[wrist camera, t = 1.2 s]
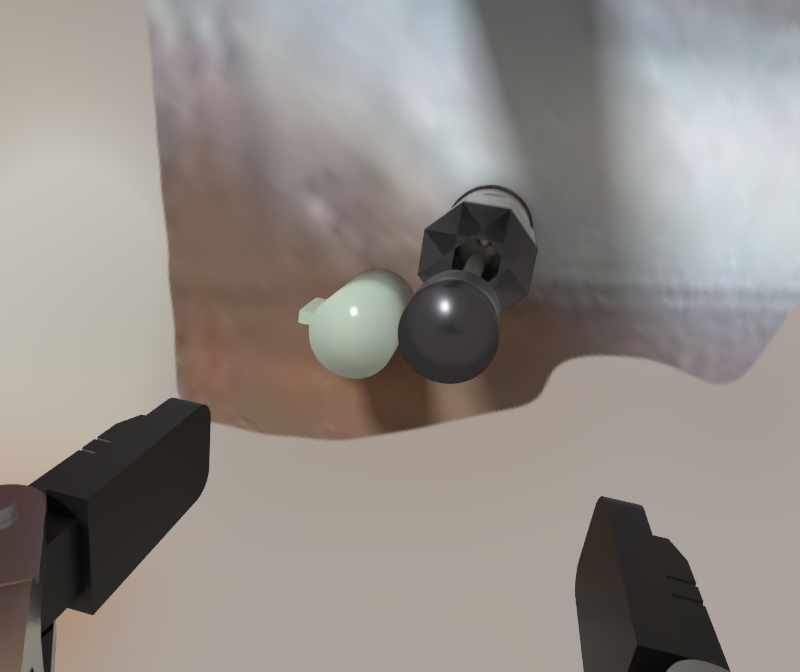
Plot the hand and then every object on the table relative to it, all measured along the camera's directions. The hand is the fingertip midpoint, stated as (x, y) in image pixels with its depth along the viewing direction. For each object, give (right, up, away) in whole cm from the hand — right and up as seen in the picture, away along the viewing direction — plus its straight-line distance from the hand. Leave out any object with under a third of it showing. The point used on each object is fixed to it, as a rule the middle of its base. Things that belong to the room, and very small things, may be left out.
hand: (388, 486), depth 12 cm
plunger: (+5, +7, +22) cm, 23 cm away
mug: (-2, +6, +39) cm, 39 cm away
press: (+7, +12, +35) cm, 38 cm away
